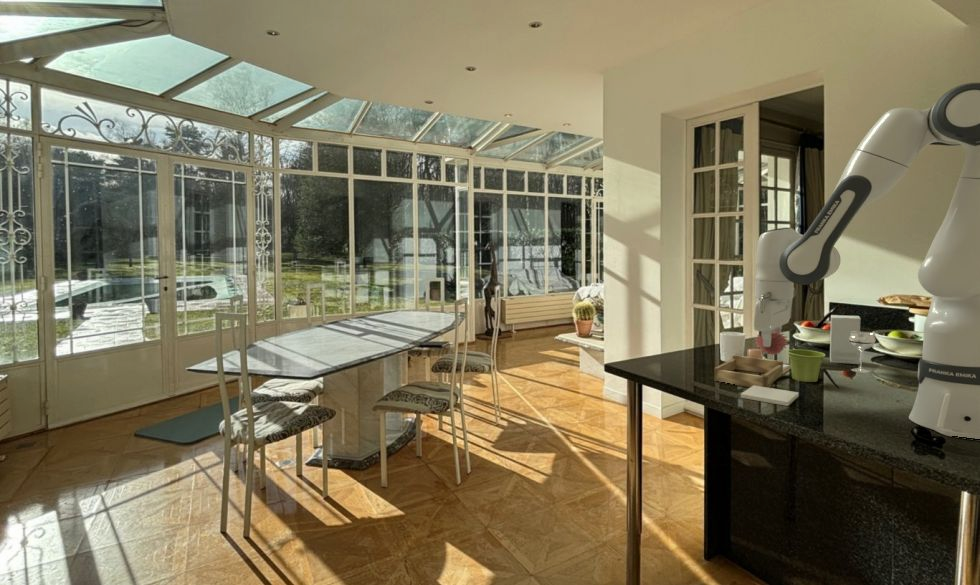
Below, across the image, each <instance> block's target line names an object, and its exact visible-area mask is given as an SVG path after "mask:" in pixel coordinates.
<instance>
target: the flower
mask: <svg viewBox="0 0 980 585" xmlns="http://www.w3.org/2000/svg"><path fill="white" fill-rule="evenodd" d="M760 332H761V335H759V334H757V337H758V338H754V339H755V341H754V343H755V344H756V348H757V347H758V349H761V350H763V352H764V353H766V354H767V355H771V356H773V355H780V354H781V352H782V351H784V348H785V349H786V348H787V347H786V346H787V345H789V344H790V343H787V342H790V340H788V339H787V338H788V336H785V335H784V333H780V334H778V333H779V331H778V332H775V333H773V331H772V334H771V339H772V346H770V347H765V346H763V338H762V331H760ZM789 346H790V345H789Z"/></svg>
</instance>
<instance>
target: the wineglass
mask: <svg viewBox="0 0 980 585" xmlns="http://www.w3.org/2000/svg"><path fill="white" fill-rule="evenodd" d="M850 334H851V335H850V336H849V341H850V343H851V344H852V345H853V346H854V347H855V348H857V349H858V350H859V351H860V355H859V367H856V368H852V369H850V370H851V372H855V373H862V374H863V373H865V374H866V373H870V372H871V371H870V370H867V369H865V368H862V363H863V357H864V356H863V355H864V351H865V350H868V349H870V348H871V347H873V346H874V345H875V344H876V337H875V336H876V333H875V332H871V331H861V330H860V331H851V332H850Z"/></svg>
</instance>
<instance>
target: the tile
mask: <svg viewBox="0 0 980 585" xmlns="http://www.w3.org/2000/svg"><path fill="white" fill-rule="evenodd" d="M799 394H800V393H799V392H798V391H791V390H785V389H779V388H773V387H770V388H767V387H761V386H755V385H753V386H752V387H748V388H747V389H746V390H744V391H743V392H741V393H740V398H741V399H747V400H750V401H751V400H753V401H758V402H763V403H769V404H773V405H774V404H775V405H781V406H787V407H788V406H790V405H791V404H792V403H793V402H794V401H796V399H798V398H799Z"/></svg>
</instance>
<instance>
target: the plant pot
mask: <svg viewBox="0 0 980 585" xmlns="http://www.w3.org/2000/svg"><path fill="white" fill-rule="evenodd" d="M786 352H787V354H788V358H789V359H790V360H789V361H790V363H791V369H790V371H791V378H792V379H793V380H795V381H799V382H804V383H815V382H818V379H819V374H820V369H821V365H822V362H823V361H824V359H825V357H826V354H825V353H824V352H820V351H817V350H816V351H815V350H809V349H789V350H787V351H786Z"/></svg>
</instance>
